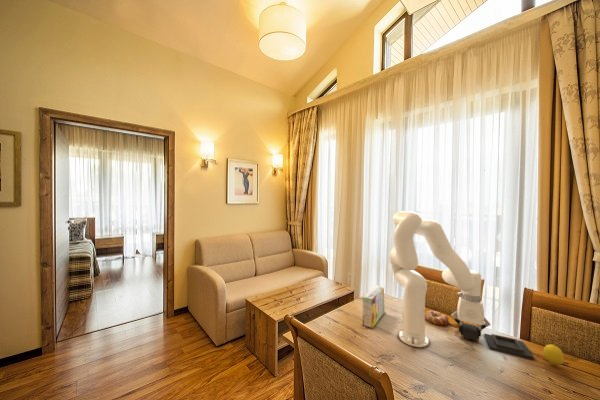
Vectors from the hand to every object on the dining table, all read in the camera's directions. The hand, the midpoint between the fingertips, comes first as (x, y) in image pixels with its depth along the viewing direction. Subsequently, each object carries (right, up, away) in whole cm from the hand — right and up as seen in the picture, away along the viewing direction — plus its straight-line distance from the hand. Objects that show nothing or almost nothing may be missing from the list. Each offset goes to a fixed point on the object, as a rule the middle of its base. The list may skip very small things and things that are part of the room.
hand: (469, 335), depth 111 cm
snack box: (-39, -2, +18) cm, 43 cm away
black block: (0, -1, 0) cm, 1 cm away
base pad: (+12, -2, -6) cm, 14 cm away
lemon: (+20, -2, -18) cm, 27 cm away
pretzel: (-6, -2, +16) cm, 18 cm away
